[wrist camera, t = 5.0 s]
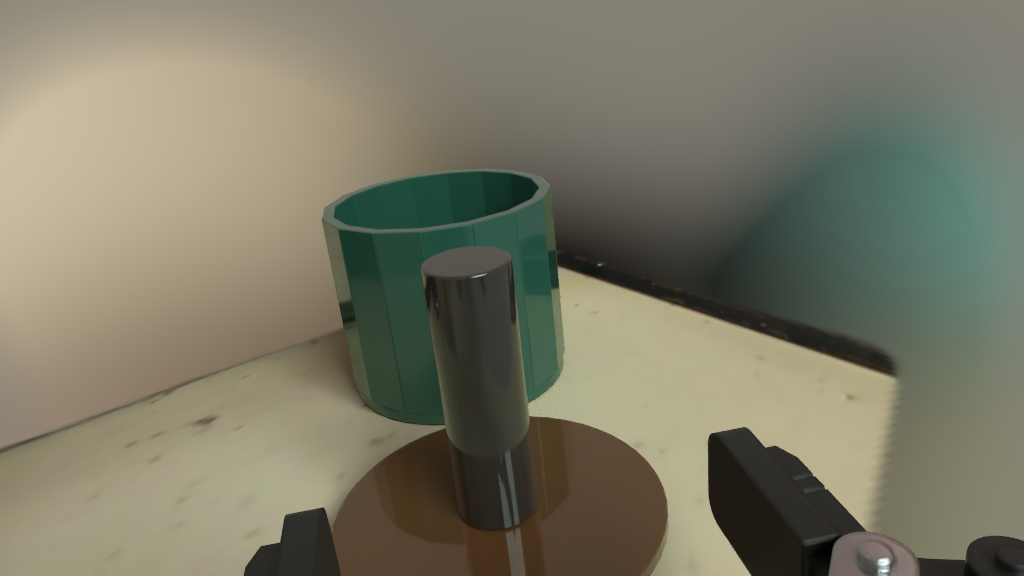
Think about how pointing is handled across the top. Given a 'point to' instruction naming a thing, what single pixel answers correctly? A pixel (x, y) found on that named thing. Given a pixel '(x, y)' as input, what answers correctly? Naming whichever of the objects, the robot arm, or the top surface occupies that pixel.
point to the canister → (399, 287)
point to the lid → (498, 462)
